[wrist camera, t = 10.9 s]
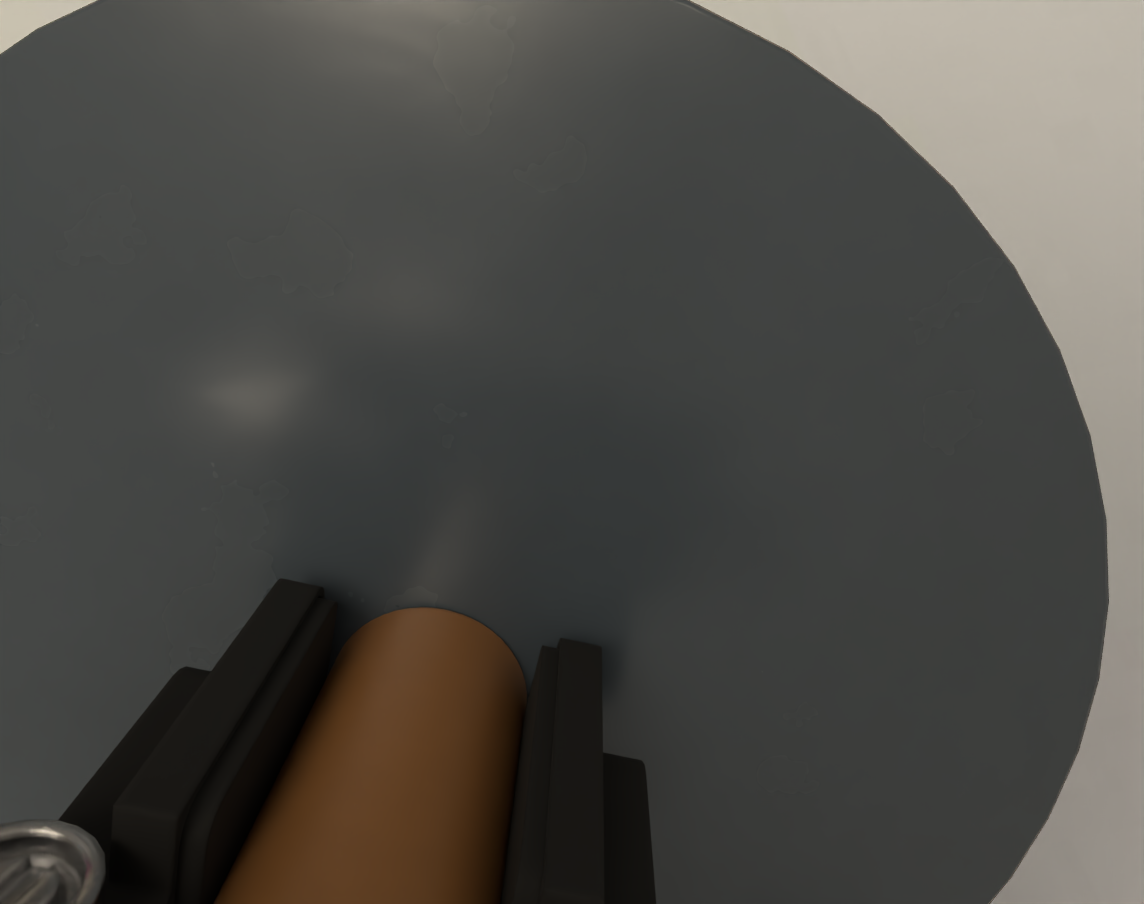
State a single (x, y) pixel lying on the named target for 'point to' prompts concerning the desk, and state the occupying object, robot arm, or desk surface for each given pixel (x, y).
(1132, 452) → the desk surface
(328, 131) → the lid
